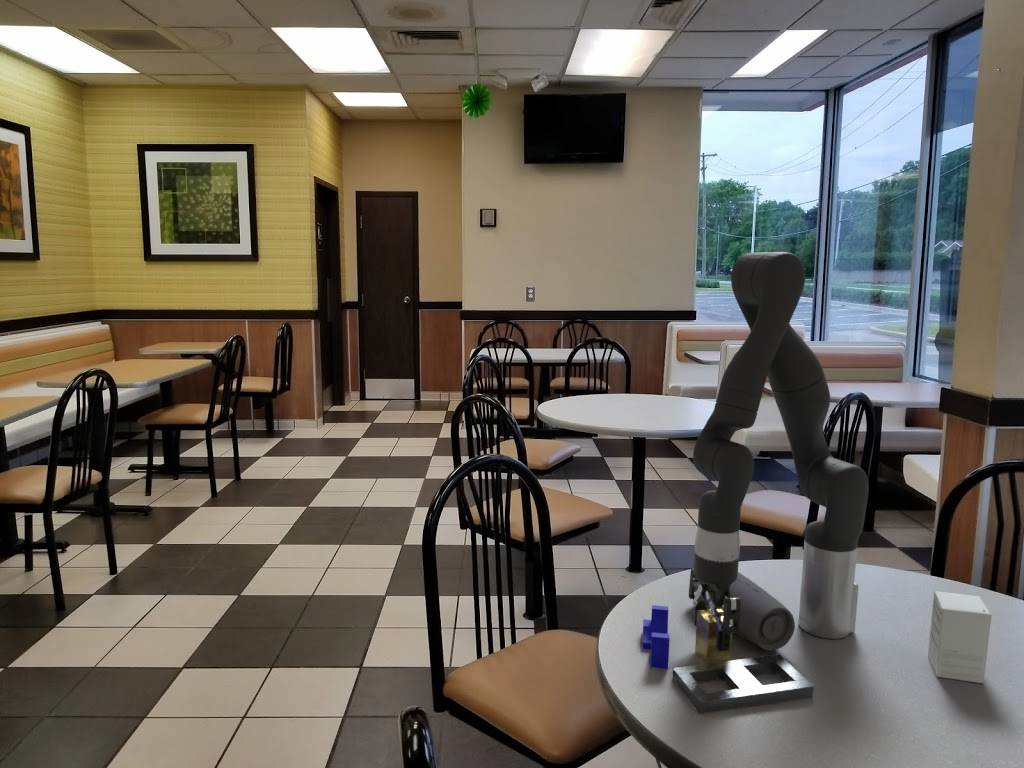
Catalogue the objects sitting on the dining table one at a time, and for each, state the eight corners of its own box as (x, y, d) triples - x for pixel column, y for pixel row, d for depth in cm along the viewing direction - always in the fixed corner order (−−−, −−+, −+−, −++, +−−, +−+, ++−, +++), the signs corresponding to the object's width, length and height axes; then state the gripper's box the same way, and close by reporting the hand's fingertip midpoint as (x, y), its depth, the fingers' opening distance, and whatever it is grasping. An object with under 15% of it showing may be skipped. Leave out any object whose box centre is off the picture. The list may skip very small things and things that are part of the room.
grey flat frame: (778, 664, 132) (779, 654, 131) (812, 697, 122) (813, 686, 122) (672, 678, 127) (672, 668, 127) (699, 713, 118) (700, 702, 117)
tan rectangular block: (717, 649, 137) (719, 608, 136) (730, 662, 133) (732, 619, 131) (695, 652, 136) (696, 610, 135) (706, 665, 132) (708, 622, 130)
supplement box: (973, 662, 133) (981, 595, 130) (984, 685, 126) (992, 614, 123) (926, 655, 135) (933, 589, 133) (934, 677, 128) (942, 607, 126)
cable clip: (642, 633, 143) (643, 604, 142) (667, 636, 142) (668, 606, 141) (641, 667, 131) (642, 635, 130) (668, 670, 130) (669, 638, 129)
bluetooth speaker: (796, 653, 136) (799, 601, 134) (751, 661, 133) (754, 608, 131) (725, 598, 157) (728, 553, 155) (686, 604, 154) (688, 558, 153)
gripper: (758, 566, 125) (750, 656, 128) (716, 535, 139) (711, 617, 141) (716, 569, 123) (710, 660, 126) (679, 537, 137) (674, 620, 140)
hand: (710, 637), depth 134 cm, fingers open, 8 cm apart
